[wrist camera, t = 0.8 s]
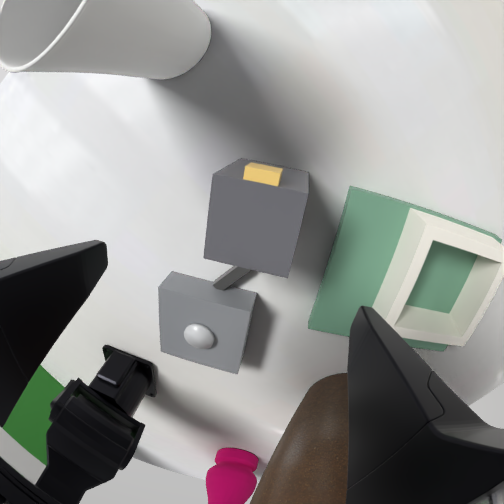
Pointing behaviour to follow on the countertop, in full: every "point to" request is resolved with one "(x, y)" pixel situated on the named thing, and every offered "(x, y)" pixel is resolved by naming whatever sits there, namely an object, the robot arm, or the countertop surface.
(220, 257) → the plug
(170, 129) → the countertop surface
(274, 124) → the countertop surface
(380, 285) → the board
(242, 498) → the pepper mill
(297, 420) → the plant pot
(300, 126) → the countertop surface
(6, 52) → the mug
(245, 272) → the gray button block
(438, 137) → the countertop surface
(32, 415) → the cereal box
